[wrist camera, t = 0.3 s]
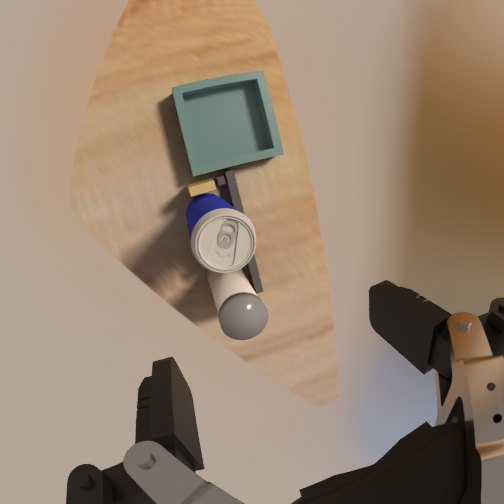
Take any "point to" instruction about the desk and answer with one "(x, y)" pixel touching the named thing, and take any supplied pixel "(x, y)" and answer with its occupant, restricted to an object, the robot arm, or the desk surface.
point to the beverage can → (219, 234)
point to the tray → (226, 121)
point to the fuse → (237, 305)
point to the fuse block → (236, 203)
